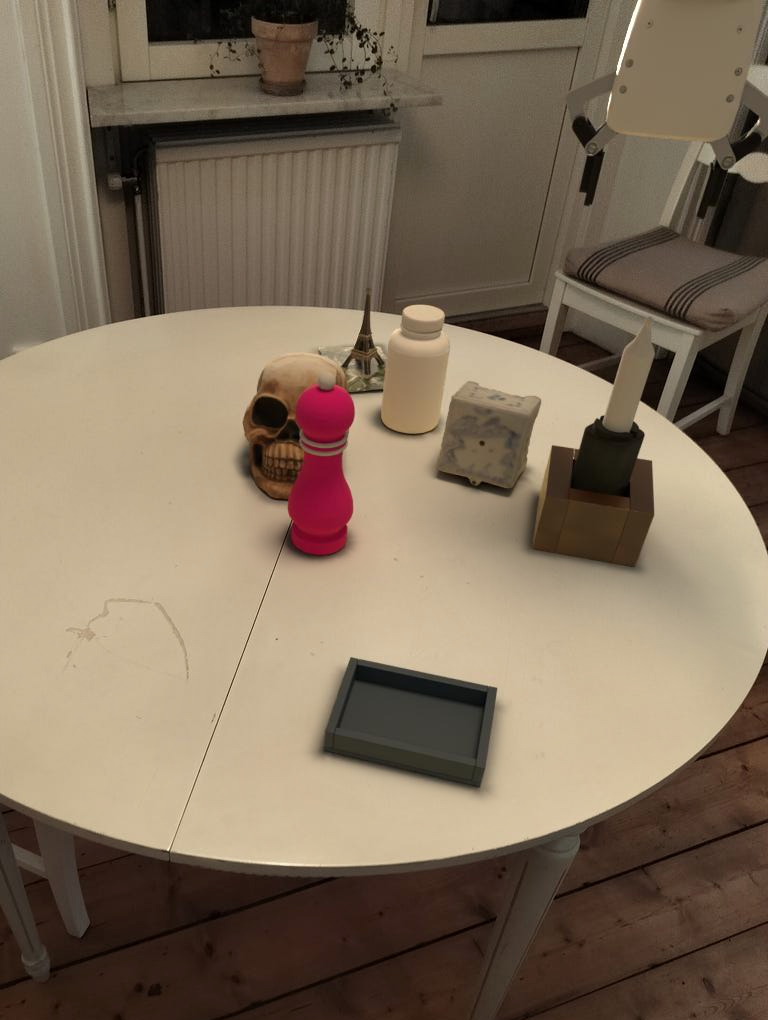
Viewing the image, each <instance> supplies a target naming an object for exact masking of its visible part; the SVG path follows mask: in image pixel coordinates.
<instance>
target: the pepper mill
mask: <svg viewBox="0 0 768 1020" xmlns="http://www.w3.org/2000/svg"><path fill="white" fill-rule="evenodd" d="M335 382H336V380H335V377H334V375H333V374H332V373H330V372H323V373H322V374H321V375H319V377H318V384H316V385H312V386H311V387H309V388H307V389H306V390H305V391H303V393H302V394H301V395H300V396H299V399H298V401H297V404H296V410H295V414H296V420H297V422H298V424H299V426H300V427H301V428H302V429H301V430H300V441H299V442H300V446H301V447H302V449H303V450H304V459H303V465H302V469H301V471H300V473H299V476H298V478H297V479H296V481H295V483H294V485H293V487H292V490H291V492H290V495H289V499H287V500H288V501H287V513H288V515H289V518H290V519H291V521H292V523H291V542H292V544H293V545H294V547H296V548H297V549H298V550H299V551H302V552H303V553H306V554H308V555H314V556H315V555H316V556H325V555H326V556H327V555H331V554H334V553H336V552H339V551H340V550H341V549H342V548H344V546H345V545H346V543H347V539H348V525H347V524H348V523H349V522H350V520H351V519H352V517H353V514H354V499H353V494H352V491H351V488H350V486H349V484H348V482H347V479H346V476H345V474H344V469H343V453H344V451H345V450H346V449H347V448H348V444H349V441H348V440H349V439H348V438H349V434H348V432H347V430H348V429H349V430H350V428H351V427H352V425H353V423H354V421H355V417H356V408H355V402H354V400H353V397H352V395H351V394H350V392H349V393H348V392H347V391H346V390H345V389H343V388H342V387H340V386H338V385H335Z"/></svg>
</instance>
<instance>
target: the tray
mask: <svg viewBox="0 0 768 1020" xmlns="http://www.w3.org/2000/svg"><path fill="white" fill-rule="evenodd" d="M497 695H498V687H497V686H492V685H486V684H482V683H481V684H480V683H476V682H471V681H467V680H463V679H457V678H453V677H447V676H444V675H438V674H434V673H429V672H424V671H419V670H415V669H410V668H406V667H405V668H404V667H399V666H395V665H391V664H387V663H380V662H377V661H372V660H366V659H362V658H357V657H353V656H352V657H351V656H350V658H349V660H348V663H347V666H346V669H345V671H344V675H343V677H342V680H341V684H340V686H339V690H338V693H337V694H336V699H335V701H334V704H333V706H332V710H331V713H330V716H329V719H328V722H327V724H326V728H325V731H324V741H323V742H324V744H323V750H324V751H326V752H330V753H333V754H338V755H342V756H346V757H350V758H351V757H352V758H355V759H358V760H359V759H360V760H364V761H369V762H373V763H377V764H381V765H386V766H389V767H394V768H398V769H402V770H407V771H411V772H415V773H418V774H419V773H420V774H423V775H428V776H433V777H437V778H441V779H446V780H448V781H449V780H450V781H453V782H458V783H463V784H467V785H471V786H475V787H478V788H479V787H481V785H482V782H483V778H484V775H485V772H486V766H487V758H488V754H489V753H488V752H489V747H490V740H491V733H492V727H493V722H494V721H493V719H494V714H495V707H496V701H497Z"/></svg>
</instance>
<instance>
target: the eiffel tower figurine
mask: <svg viewBox="0 0 768 1020" xmlns="http://www.w3.org/2000/svg"><path fill="white" fill-rule="evenodd" d="M370 285H371V279H369V282H368V287H367V288H366V290H365V293H366V295H365V296H366V297H365V302H364V303H365V304H364V309H363V315H362V316H363V317H362V323H361V327H360V331H359V333H358V338H357V340H356V343H355V345H354V346H318V349H319V353H320V355H322V356H325V357H327V358H329V359H331V360H333V361H334V362H335V363H337V364H338V365H339V366H340V367H341V369H342V370H343V372H344V374H345V376H346V379H347V382H348V387H349V393H354V392H364V391H375V390H384V380H385V370H386V360H387V355H386V354H385V353H384V351H383V349H382V347H381V346H375V343H374V340H373V335H372V334H373V332H372V329H371V294H372V287H371V286H370Z"/></svg>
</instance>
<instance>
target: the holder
mask: <svg viewBox="0 0 768 1020" xmlns="http://www.w3.org/2000/svg"><path fill="white" fill-rule="evenodd" d="M578 451H579V448H574V447H566V446H562V445H561V446H560V445H556V444H555V445H553V444H552V445H551V448H550V451H549V455H548V459H547V463H546V467H545V471H544V475H543V479H542V483H541V486H540V489H539V490H540V491H539V494H538V501H537V508H536V516H535V523H534V531H533V539H532V546H531V549H532V550H538V551H543V552H549V553H553V554H554V553H555V554H560V555H566V556H571V557H578V558H583V559H589V560H595V561H600V562H605V563H610V564H611V563H612V564H616V565H623V566H629V567H633V568H635V567H636V566H637V563H638V561H639V557H640V555H641V553H642V550H643V547H644V544H645V541H646V539H647V536H648V534H649V530H650V528H651V525H652V523H653V520H654V518H655V493H654V473H653V472H654V471H653V470H654V469H653V460H651V459H644V458H638V457H637V460H636V463H635V466H634V469H633V472H632V475H631V478H630V481H629V484H628V487H627V490H626V493H625V496H624V497H621V496H615V495H609V494H603V493H597V492H591V491H585V490H578V489H572V488H571V477H572V473H573V469H574V466H575V462H576V459H577V455H578Z"/></svg>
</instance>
